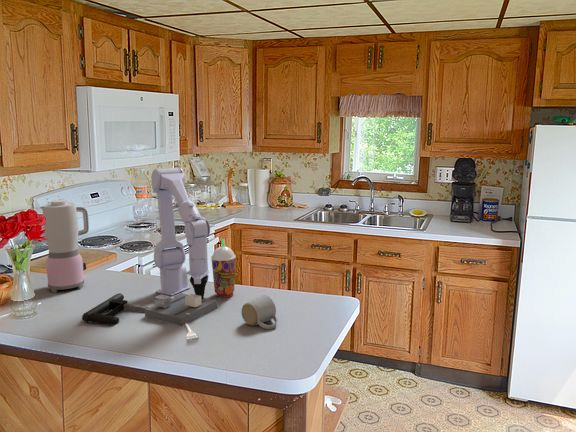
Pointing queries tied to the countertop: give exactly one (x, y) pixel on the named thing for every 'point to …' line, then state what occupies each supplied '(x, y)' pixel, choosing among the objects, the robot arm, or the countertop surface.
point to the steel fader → (162, 301)
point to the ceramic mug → (260, 312)
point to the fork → (190, 332)
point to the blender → (64, 245)
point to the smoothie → (223, 271)
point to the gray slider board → (180, 310)
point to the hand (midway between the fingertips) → (200, 298)
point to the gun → (115, 306)
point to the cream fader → (193, 300)
